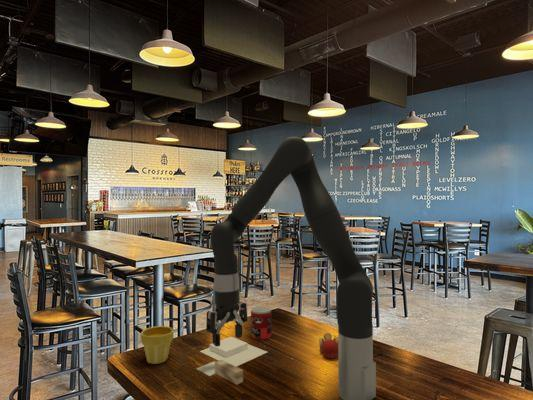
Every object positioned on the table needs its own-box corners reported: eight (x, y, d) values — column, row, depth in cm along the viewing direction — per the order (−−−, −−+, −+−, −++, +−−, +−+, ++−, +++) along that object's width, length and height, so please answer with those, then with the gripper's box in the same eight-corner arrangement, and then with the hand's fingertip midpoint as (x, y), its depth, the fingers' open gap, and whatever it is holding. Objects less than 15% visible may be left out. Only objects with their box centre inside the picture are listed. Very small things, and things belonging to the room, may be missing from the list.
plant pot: (158, 350, 130) (158, 323, 130) (179, 357, 124) (179, 328, 124) (134, 362, 121) (134, 332, 121) (156, 369, 116) (156, 339, 115)
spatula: (248, 380, 108) (248, 367, 108) (230, 389, 103) (230, 375, 103) (213, 363, 120) (213, 351, 120) (196, 370, 115) (196, 357, 115)
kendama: (315, 343, 139) (317, 357, 121) (318, 326, 140) (320, 338, 122) (335, 348, 138) (340, 362, 120) (338, 331, 139) (343, 343, 121)
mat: (267, 353, 127) (267, 351, 127) (233, 369, 116) (233, 367, 116) (233, 339, 140) (233, 338, 140) (199, 352, 128) (199, 351, 128)
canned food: (248, 335, 144) (248, 307, 144) (266, 332, 147) (266, 305, 147) (255, 342, 137) (255, 313, 137) (274, 339, 140) (274, 310, 140)
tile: (247, 343, 130) (231, 336, 136) (226, 351, 123) (209, 344, 129) (247, 348, 130) (231, 342, 136) (226, 357, 123) (209, 350, 129)
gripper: (216, 294, 102) (217, 352, 102) (252, 285, 112) (253, 337, 112) (200, 290, 107) (201, 345, 107) (236, 281, 117) (237, 331, 117)
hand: (228, 341), depth 110 cm, fingers open, 8 cm apart
